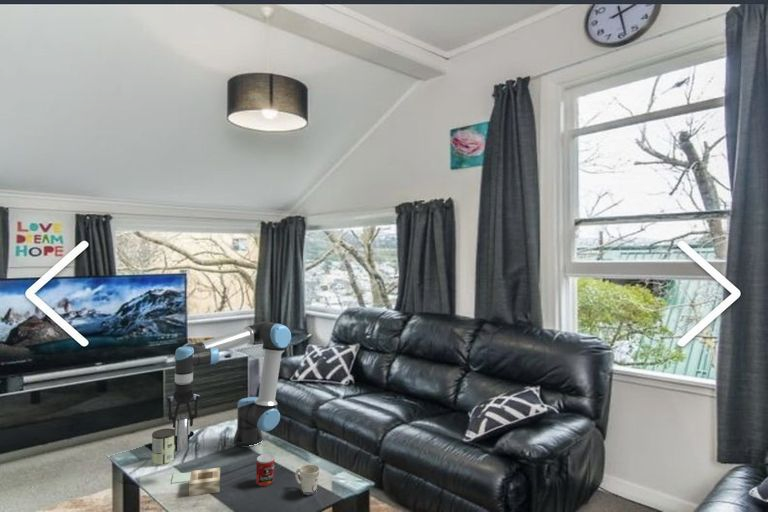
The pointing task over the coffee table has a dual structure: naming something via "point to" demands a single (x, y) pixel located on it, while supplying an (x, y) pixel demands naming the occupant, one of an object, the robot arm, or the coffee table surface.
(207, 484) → the housing
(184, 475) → the pad
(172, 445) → the coffee can
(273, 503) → the coffee table surface
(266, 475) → the canned food
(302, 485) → the mug
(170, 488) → the coffee table surface
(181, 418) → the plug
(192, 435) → the controller
